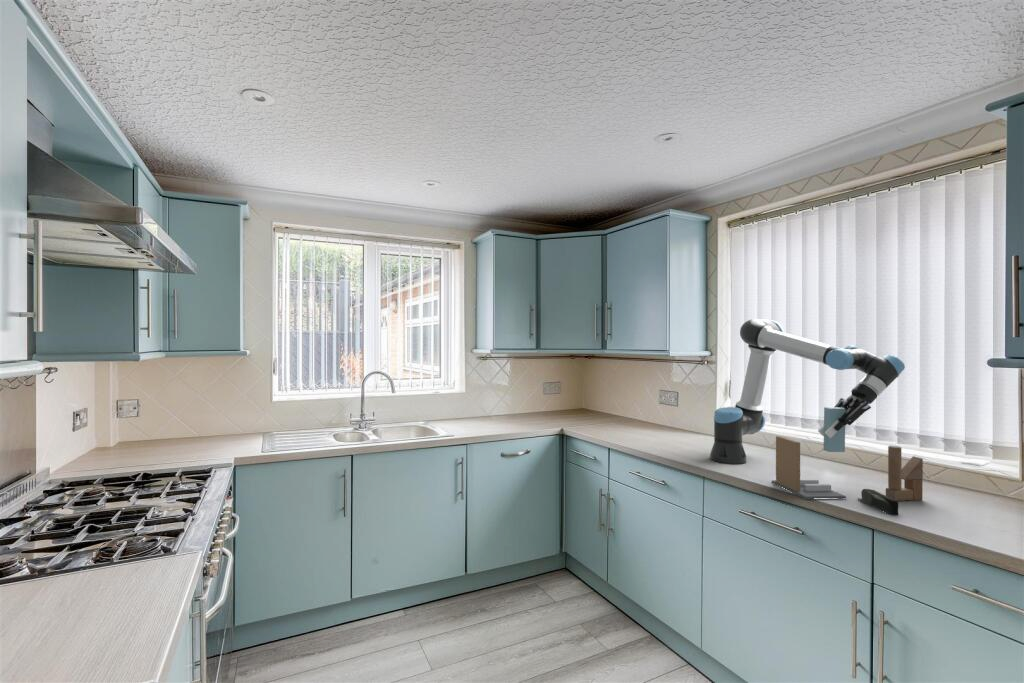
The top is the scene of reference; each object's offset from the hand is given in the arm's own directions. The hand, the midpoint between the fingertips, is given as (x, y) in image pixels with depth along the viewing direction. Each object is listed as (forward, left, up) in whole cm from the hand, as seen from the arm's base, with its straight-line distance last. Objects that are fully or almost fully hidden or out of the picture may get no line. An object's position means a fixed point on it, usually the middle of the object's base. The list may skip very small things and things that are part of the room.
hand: (824, 434), depth 183 cm
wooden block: (+16, +16, -19) cm, 30 cm away
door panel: (0, +4, -6) cm, 7 cm away
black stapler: (+24, +1, -20) cm, 31 cm away
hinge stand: (+5, -10, -19) cm, 22 cm away
